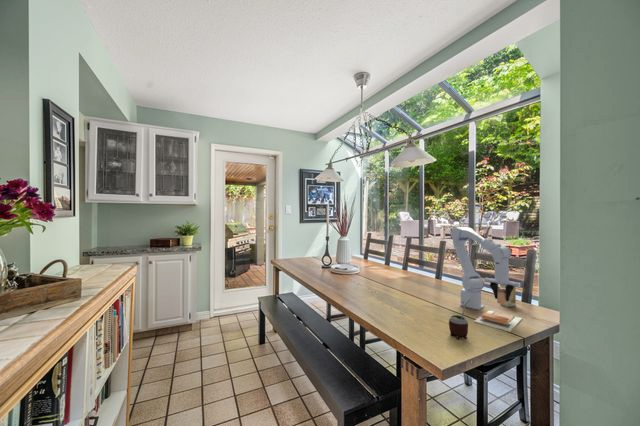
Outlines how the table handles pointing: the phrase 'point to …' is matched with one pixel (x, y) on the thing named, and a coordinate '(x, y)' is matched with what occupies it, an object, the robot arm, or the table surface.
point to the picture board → (507, 327)
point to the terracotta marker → (501, 296)
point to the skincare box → (512, 297)
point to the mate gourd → (459, 325)
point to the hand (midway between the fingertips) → (502, 299)
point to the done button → (495, 318)
